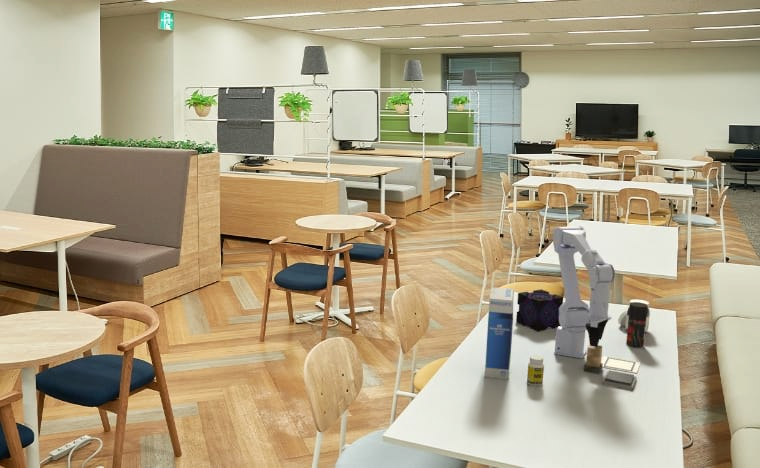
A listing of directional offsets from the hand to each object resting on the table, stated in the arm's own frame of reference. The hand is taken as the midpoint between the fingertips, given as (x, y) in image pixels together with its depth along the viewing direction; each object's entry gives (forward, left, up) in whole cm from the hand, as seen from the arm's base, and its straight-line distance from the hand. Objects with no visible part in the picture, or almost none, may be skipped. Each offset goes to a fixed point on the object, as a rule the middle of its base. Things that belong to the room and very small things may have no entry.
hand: (595, 342), depth 231 cm
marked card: (+7, +9, -9) cm, 15 cm away
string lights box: (-27, -16, -10) cm, 33 cm away
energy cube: (-27, +37, -10) cm, 47 cm away
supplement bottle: (-14, -20, -10) cm, 26 cm away
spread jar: (+6, +49, -10) cm, 50 cm away
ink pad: (+9, -6, -9) cm, 14 cm away
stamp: (0, 0, -10) cm, 10 cm away
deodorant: (+9, +32, -10) cm, 35 cm away
